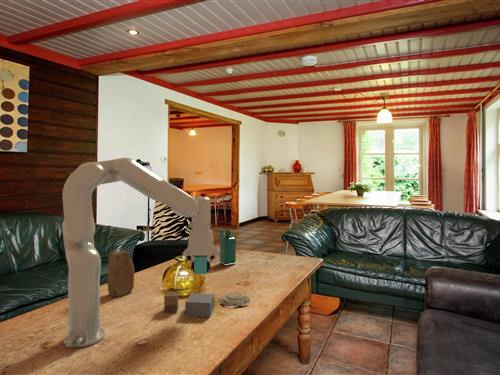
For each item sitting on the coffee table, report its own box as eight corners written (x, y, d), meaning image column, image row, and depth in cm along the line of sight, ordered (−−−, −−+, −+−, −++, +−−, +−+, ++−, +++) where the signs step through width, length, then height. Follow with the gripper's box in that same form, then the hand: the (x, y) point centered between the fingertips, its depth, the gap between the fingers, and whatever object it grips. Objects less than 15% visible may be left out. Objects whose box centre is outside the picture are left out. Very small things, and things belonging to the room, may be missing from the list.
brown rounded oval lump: (113, 298, 148) (114, 254, 148) (106, 294, 153) (106, 252, 153) (136, 292, 157) (136, 250, 156) (127, 288, 161) (128, 248, 161)
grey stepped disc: (214, 307, 141) (248, 310, 138) (214, 299, 141) (248, 302, 138) (223, 295, 156) (255, 298, 153) (223, 288, 156) (255, 290, 153)
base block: (210, 317, 131) (210, 303, 130) (185, 317, 131) (185, 302, 131) (214, 307, 140) (214, 294, 140) (191, 307, 141) (191, 293, 141)
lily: (200, 260, 221) (198, 250, 216) (213, 251, 229) (212, 240, 224) (212, 269, 214) (211, 258, 209) (225, 259, 222) (224, 248, 217)
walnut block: (176, 312, 134) (176, 295, 134) (164, 313, 134) (164, 296, 134) (178, 308, 139) (178, 291, 139) (166, 308, 139) (166, 291, 139)
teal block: (206, 274, 133) (206, 256, 133) (194, 274, 132) (194, 257, 132) (207, 270, 138) (207, 253, 138) (195, 270, 137) (195, 254, 137)
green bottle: (229, 261, 216) (229, 228, 215) (237, 264, 210) (237, 229, 209) (216, 263, 210) (217, 229, 209) (224, 266, 203) (224, 231, 203)
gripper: (178, 228, 130) (178, 274, 131) (222, 228, 132) (221, 273, 132) (180, 225, 137) (180, 269, 138) (221, 225, 139) (221, 268, 140)
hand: (200, 270), depth 135 cm, fingers closed on teal block, 5 cm apart
